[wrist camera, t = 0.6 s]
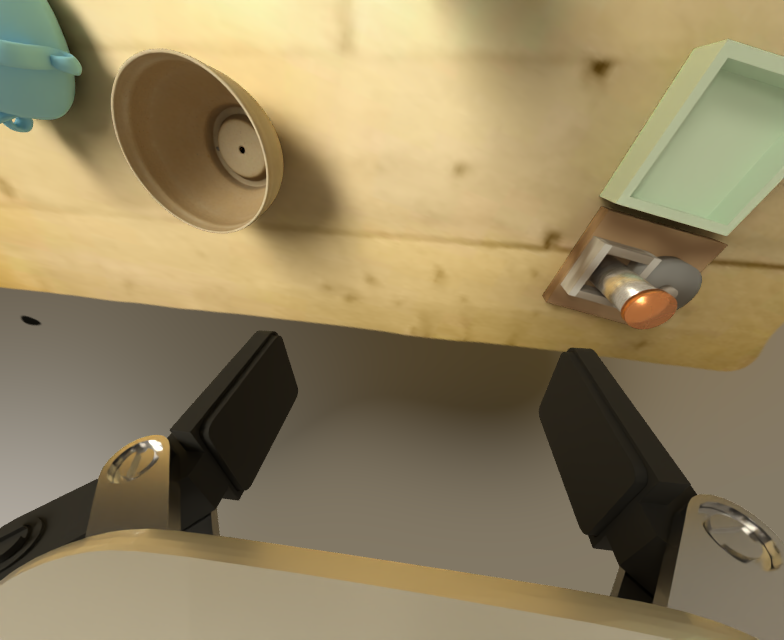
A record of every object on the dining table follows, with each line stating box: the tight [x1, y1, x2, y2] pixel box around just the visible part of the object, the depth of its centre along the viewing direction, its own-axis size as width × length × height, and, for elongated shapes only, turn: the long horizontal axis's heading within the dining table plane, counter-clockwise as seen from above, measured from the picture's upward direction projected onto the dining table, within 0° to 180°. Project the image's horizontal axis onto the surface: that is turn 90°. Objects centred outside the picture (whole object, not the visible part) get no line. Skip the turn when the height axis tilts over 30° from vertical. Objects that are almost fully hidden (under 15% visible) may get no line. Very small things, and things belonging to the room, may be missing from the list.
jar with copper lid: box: [589, 255, 677, 329], centre depth 35 cm, size 5×5×11 cm
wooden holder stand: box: [542, 206, 727, 325], centre depth 38 cm, size 14×16×6 cm
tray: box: [600, 39, 784, 236], centre depth 30 cm, size 14×14×4 cm
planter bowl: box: [111, 49, 283, 233], centre depth 33 cm, size 16×16×11 cm
